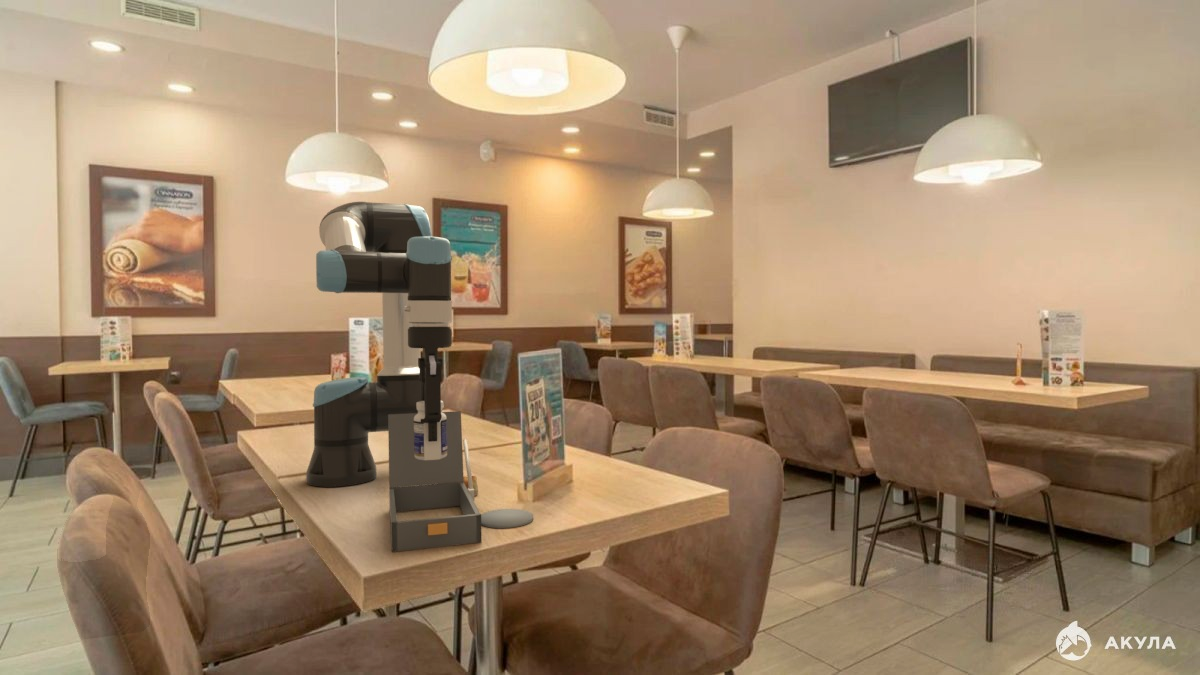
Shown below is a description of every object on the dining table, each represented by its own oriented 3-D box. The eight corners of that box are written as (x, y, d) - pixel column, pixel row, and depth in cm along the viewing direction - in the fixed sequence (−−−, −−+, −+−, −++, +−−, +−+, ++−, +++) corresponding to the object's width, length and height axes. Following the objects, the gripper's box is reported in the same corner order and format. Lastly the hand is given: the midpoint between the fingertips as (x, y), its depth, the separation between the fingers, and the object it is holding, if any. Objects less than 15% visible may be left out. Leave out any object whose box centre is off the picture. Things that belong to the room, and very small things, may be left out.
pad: (474, 515, 124) (474, 511, 124) (526, 509, 127) (526, 506, 127) (482, 530, 114) (482, 527, 114) (538, 524, 118) (538, 521, 118)
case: (389, 505, 131) (388, 414, 130) (466, 499, 135) (465, 410, 135) (392, 553, 103) (390, 437, 103) (488, 542, 108) (487, 431, 108)
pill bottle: (434, 452, 122) (433, 398, 121) (453, 456, 118) (453, 401, 118) (407, 457, 117) (406, 401, 117) (426, 462, 114) (426, 404, 113)
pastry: (433, 500, 135) (433, 481, 135) (432, 492, 142) (432, 474, 142) (479, 496, 138) (479, 478, 138) (476, 489, 144) (476, 472, 144)
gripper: (405, 324, 125) (406, 447, 125) (410, 326, 107) (411, 468, 108) (446, 324, 127) (447, 444, 128) (457, 326, 109) (458, 465, 110)
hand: (430, 455), depth 118 cm, fingers closed on pill bottle, 6 cm apart
